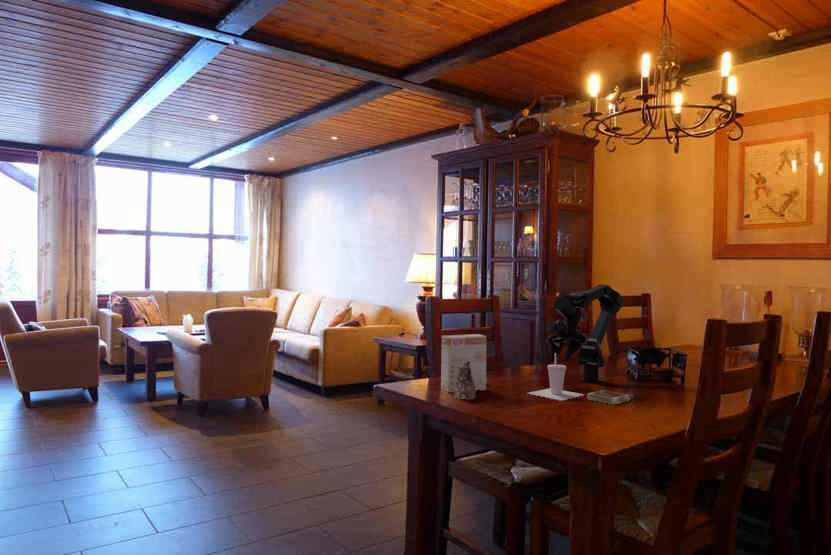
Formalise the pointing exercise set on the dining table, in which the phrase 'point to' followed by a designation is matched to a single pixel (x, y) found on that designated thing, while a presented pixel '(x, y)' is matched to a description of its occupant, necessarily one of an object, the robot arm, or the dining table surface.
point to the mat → (562, 397)
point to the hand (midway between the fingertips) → (558, 360)
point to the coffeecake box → (463, 359)
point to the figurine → (464, 382)
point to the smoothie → (556, 378)
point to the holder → (608, 397)
